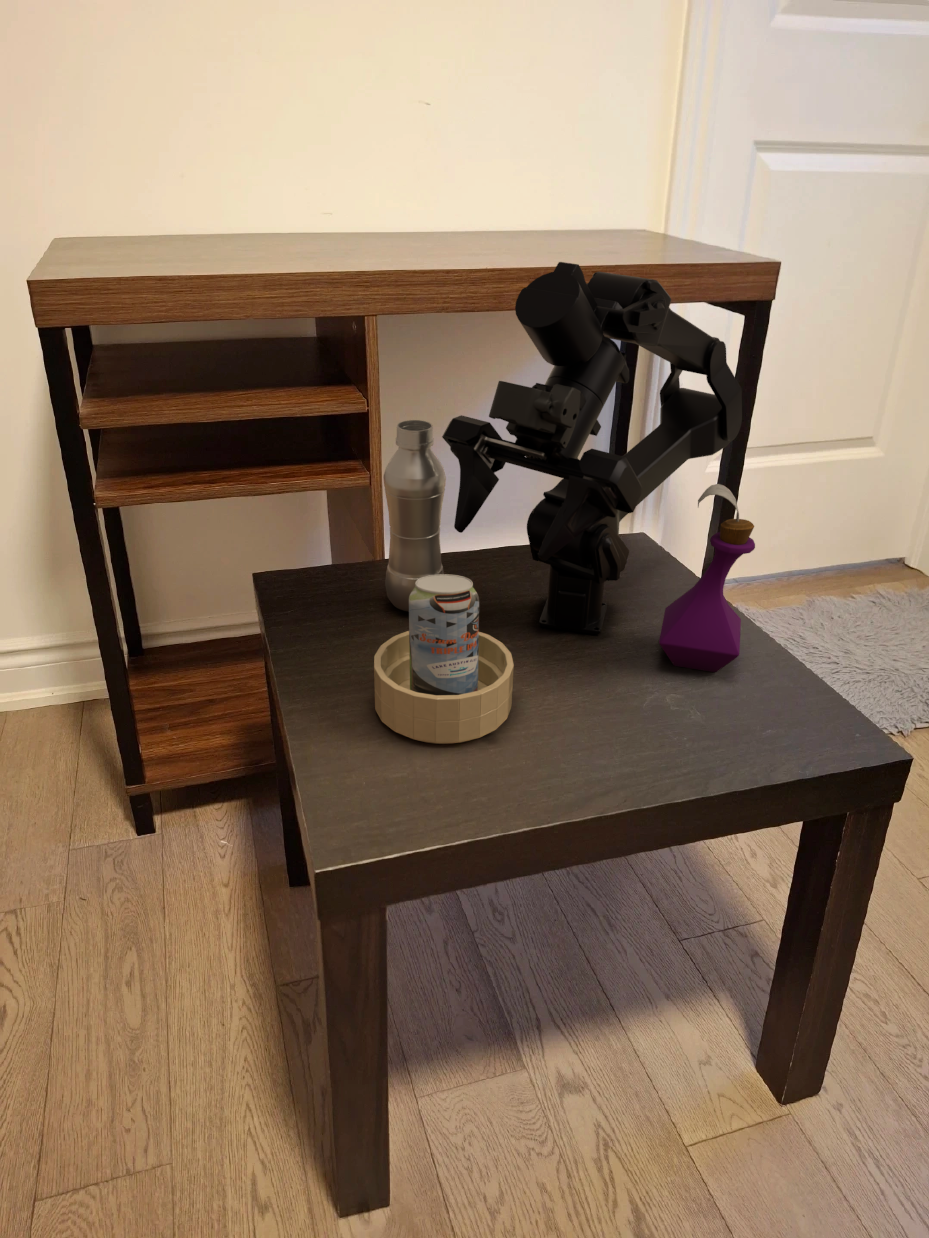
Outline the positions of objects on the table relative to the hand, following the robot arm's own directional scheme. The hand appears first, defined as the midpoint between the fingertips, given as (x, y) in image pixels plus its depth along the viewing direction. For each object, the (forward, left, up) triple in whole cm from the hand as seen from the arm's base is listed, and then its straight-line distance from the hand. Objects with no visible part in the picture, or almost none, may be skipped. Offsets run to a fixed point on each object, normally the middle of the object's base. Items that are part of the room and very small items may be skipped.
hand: (498, 544), depth 84 cm
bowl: (+7, -3, -14) cm, 15 cm away
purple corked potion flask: (-8, +19, -14) cm, 25 cm away
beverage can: (+7, -3, -13) cm, 15 cm away
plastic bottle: (-11, -11, -14) cm, 21 cm away
